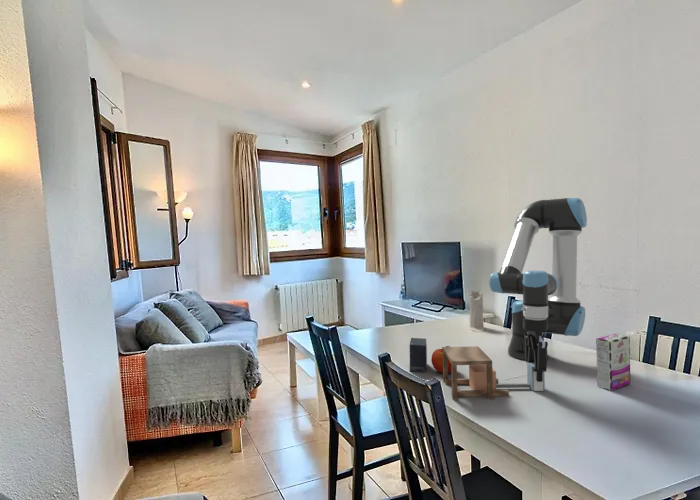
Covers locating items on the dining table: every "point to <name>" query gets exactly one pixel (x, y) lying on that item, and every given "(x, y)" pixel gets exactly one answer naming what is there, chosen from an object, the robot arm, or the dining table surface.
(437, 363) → the fruit
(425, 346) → the small box
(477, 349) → the shelf
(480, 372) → the block barbell
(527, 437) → the dining table surface
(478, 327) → the beige paper bag
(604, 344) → the candy bar box
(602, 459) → the dining table surface
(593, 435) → the dining table surface
